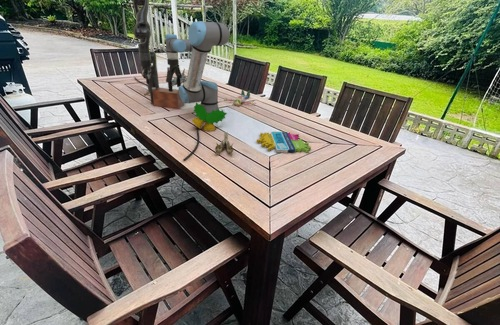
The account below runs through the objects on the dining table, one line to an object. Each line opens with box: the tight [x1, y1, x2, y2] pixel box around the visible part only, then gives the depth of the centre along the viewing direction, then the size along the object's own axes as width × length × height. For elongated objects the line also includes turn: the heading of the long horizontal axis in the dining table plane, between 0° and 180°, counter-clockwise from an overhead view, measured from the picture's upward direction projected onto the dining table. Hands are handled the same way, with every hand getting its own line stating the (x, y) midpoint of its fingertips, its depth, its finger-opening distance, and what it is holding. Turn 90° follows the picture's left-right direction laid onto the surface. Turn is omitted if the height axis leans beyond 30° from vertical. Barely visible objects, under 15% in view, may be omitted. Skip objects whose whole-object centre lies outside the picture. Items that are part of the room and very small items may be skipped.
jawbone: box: [214, 131, 234, 156], centre depth 136 cm, size 9×15×10 cm
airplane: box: [165, 68, 187, 86], centre depth 265 cm, size 38×32×10 cm
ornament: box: [191, 102, 228, 132], centre depth 162 cm, size 21×8×15 cm, turn 105°
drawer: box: [143, 89, 155, 105], centre depth 198 cm, size 24×9×10 cm, turn 78°
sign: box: [256, 131, 312, 154], centre depth 152 cm, size 26×2×30 cm
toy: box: [223, 89, 257, 106], centre depth 219 cm, size 28×7×30 cm
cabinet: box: [152, 87, 185, 110], centre depth 197 cm, size 20×11×12 cm, turn 78°
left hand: (148, 83), depth 195 cm, fingers closed
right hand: (175, 89), depth 193 cm, fingers open, 13 cm apart
